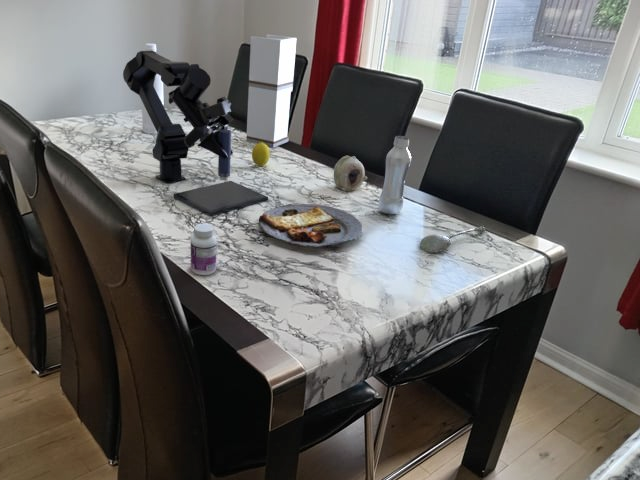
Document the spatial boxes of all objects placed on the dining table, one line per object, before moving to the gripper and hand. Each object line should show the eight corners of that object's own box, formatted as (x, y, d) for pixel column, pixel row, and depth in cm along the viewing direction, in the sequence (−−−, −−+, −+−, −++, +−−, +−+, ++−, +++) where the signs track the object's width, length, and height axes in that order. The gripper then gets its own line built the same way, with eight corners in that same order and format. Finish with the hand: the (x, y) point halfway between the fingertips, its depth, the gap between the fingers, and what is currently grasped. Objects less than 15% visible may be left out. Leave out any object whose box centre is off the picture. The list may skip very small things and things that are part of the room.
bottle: (162, 134, 209) (160, 46, 195) (140, 133, 209) (137, 44, 195) (165, 129, 216) (163, 43, 202) (144, 128, 216) (141, 42, 202)
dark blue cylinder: (215, 178, 156) (216, 130, 149) (224, 176, 158) (226, 128, 151) (223, 181, 154) (224, 133, 147) (232, 179, 156) (234, 131, 149)
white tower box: (288, 141, 211) (296, 37, 193) (273, 147, 203) (280, 40, 186) (261, 135, 216) (267, 34, 199) (246, 141, 208) (250, 36, 191)
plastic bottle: (402, 210, 156) (416, 136, 146) (399, 218, 150) (414, 142, 141) (378, 206, 158) (391, 133, 148) (375, 214, 152) (387, 139, 142)
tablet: (173, 197, 155) (173, 193, 155) (230, 183, 167) (230, 180, 167) (210, 216, 145) (210, 212, 145) (268, 200, 157) (268, 196, 157)
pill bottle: (190, 263, 122) (190, 221, 117) (216, 264, 122) (216, 222, 118) (190, 276, 117) (190, 232, 112) (216, 276, 118) (217, 232, 113)
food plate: (288, 259, 126) (290, 245, 124) (241, 220, 144) (242, 207, 142) (379, 242, 137) (381, 228, 135) (325, 207, 154) (326, 195, 153)
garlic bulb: (332, 194, 171) (323, 162, 167) (348, 184, 175) (341, 152, 172) (357, 194, 164) (349, 160, 160) (374, 183, 168) (367, 150, 165)
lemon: (267, 170, 180) (268, 145, 176) (249, 168, 180) (250, 143, 177) (270, 165, 184) (271, 140, 180) (253, 163, 185) (254, 138, 181)
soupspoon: (412, 247, 137) (434, 259, 132) (415, 235, 135) (437, 247, 130) (471, 227, 148) (493, 237, 143) (474, 215, 146) (497, 225, 141)
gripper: (195, 93, 138) (235, 146, 140) (227, 82, 153) (263, 129, 155) (167, 122, 144) (206, 172, 146) (200, 108, 159) (235, 154, 161)
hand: (229, 156), depth 152 cm, fingers closed on dark blue cylinder, 3 cm apart
